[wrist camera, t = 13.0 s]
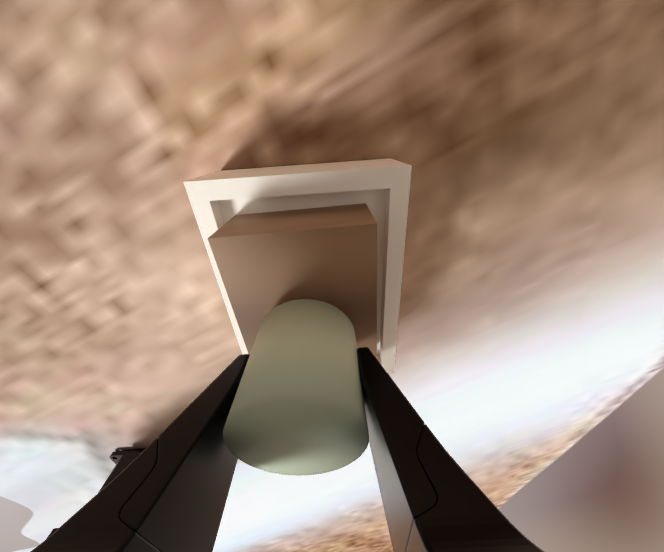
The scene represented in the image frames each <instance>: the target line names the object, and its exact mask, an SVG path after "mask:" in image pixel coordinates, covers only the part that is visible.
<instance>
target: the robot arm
mask: <svg viewBox="0 0 664 552" xmlns="http://www.w3.org/2000/svg"><path fill="white" fill-rule="evenodd" d="M357 353H358V360H359V367H360V375H361V381H362V388H363V395H364V402H365V409H366V416H367V424H368V431H369V443H370V447H371V452H372V456H373V461H374V465H375V470H376V474H377V479H378V483H379V488H380V492H381V497H382V501H383V506H384V510H385V515H386V519H387V524H388V528H389V533H390V537H391V542H392V546H393V551H394V552H544V551H543V550H541V549H540V548H539V547H537V546H536V545H535V544H534V543H532V542H531V541H530V540H529V539H527V538H526V537H525V536H524V535H523V534H522V533H521V532H520V531H518V529H516V528H515V527H514V526H513V525H512V524H511V523H510V522H509V520H508V519H507V518H506V517H505V516H504V515H503V514H502V513H501V512H500V511H499V510H498V508H497V507H496V506H495V505H494V504H493V503H492V502H491V501H490V500H489V498H488V497H487V496H486V495H485V494H484V493H483V492H482V491H481V490H480V488H479V487H478V486H477V485H476V484H475V483H474V482H473V481H472V480H471V479H470V477H469V476H468V475H467V474H466V473H465V472H464V471H463V470H462V469H461V467H460V466H459V465H458V464H457V463H456V462H455V460H454V459H453V458H452V457H451V456H450V455H449V454H448V452H447V451H446V450H445V449H444V447H443V446H442V445H441V444H440V442H439V441H438V440H437V439H436V437H435V436H434V435H433V433H432V432H431V431H430V429H429V428H428V427H427V425H424V421H423V420H422V419H421V417H420V416H419V415H418V413H417V412H416V411H415V409H414V408H413V407H412V405H411V404H410V403H409V401H408V400H407V399H406V397H405V396H404V395H403V393H402V392H401V391H400V389H399V388H398V387H397V385H396V384H395V383H394V381H393V380H392V379H391V377H390V376H389V375H388V373H387V372H386V370H385V369H384V368H383V366H382V365H381V364H380V362H379V361H378V360H377V358H376V357H375V356H374V354H373V353H372V352H371V350H370V349H369V348H368V347H360V348H358V349H357ZM249 356H250V354H241V355H239V356H238V357H237V358H236V359H235V360H234V361H233V362H232V363H231V364H230V365H229V366H228V367H227V368H226V369H225V370H224V371H223V372H222V373H221V374H220V375H219V376H218V377H217V378H216V379H215V380H214V381H213V382H212V383H211V384H210V385H209V386H208V387H207V388H206V389H205V390H204V391H203V392H202V393H201V394H200V395H199V396H198V397H197V398H196V399H195V400H194V401H193V402H192V403H191V404H190V405H189V406H188V407H187V408H186V409H185V410H184V411H183V412H182V413H181V414H180V415H179V416H178V417H177V418H176V419H175V420H174V421H173V422H172V423H171V424H170V425H169V426H168V427H167V428H166V429H165V430H164V431H163V432H162V433H161V434H160V435H159V437H158V438H157V439H155V440H154V441H153V442H152V443H151V444H150V445H149V446H148V447H147V448H146V449H145V450H136V451H115V452H113V453H112V454H111V455H110V459H111V460H112V461H113V462H114V463H115V464H116V466H115V468H114V469H113V471H112V472H111V474H110V475H109V477H108V478H107V480H106V482H105V483H104V485H103V486H102V488H101V489H100V491H99V492H98V494H97V495H96V496H95V497H93V498H92V499H91V500H90V501H89V502H88V503H87V504H86V505H84V506H83V507H82V508H81V509H80V510H79V511H78V512H77V513H75V514H74V515H73V516H72V517H71V518H70V519H69V520H68V521H66V522H65V523H64V524H63V525H62V526H61V527H60V528H55V529H53V530H52V532H51V533H50V535H49V536H48V537H47V539H46V540H45V541H44V542H42V543H41V544H40V545H39V546H37V547H36V548H35V549H33V550H32V551H31V552H212V551H213V547H214V543H215V540H216V536H217V533H218V529H219V525H220V522H221V518H222V514H223V511H224V507H225V503H226V500H227V496H228V492H229V489H230V485H231V481H232V478H233V474H234V470H235V467H236V463H237V459H238V458H237V457H236V456H235V455H233V454H232V453H231V451H230V450H229V449H228V448H227V446H226V444H225V442H224V438H223V429H224V426H225V423H226V420H227V417H228V415H229V412H230V409H231V406H232V403H233V401H234V398H235V395H236V392H237V389H238V387H239V384H240V381H241V378H242V376H243V373H244V370H245V367H246V364H247V362H248V359H249Z"/></svg>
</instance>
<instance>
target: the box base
mask: <svg viewBox="0 0 664 552" xmlns="http://www.w3.org/2000/svg"><path fill="white" fill-rule="evenodd" d="M411 171H412V165H409V164H406V163H403V162H400V161H397V160H394V159H391V158H388V159H374V160H360V161H346V162H333V163H319V164H305V165H291V166H277V167H264V168H250V169H236V170H222V171H217V172H214V173H211V174H207V175H204V176H201V177H198V178H195V179H191V180H188V181H185V182H184V185H185V188H186V191H187V194H188V197H189V200H190V203H191V206H192V209H193V211H194V214H195V217H196V220H197V223H198V226H199V229H200V232H201V235H202V238H203V241H204V244H205V247H206V249H207V252H208V255H209V258H210V261H211V264H212V267H213V270H214V273H215V276H216V279H217V282H218V284H219V287H220V290H221V293H222V296H223V299H224V302H225V305H226V308H227V311H228V314H229V317H230V320H231V322H232V325H233V328H234V331H235V334H236V337H237V340H238V343H239V346H240V349H241V352H242V354H248V351H247V348H246V345H245V343H244V340H243V337H242V334H241V331H240V328H239V326H238V323H237V320H236V317H235V314H234V312H233V309H232V306H231V303H230V300H229V298H228V295H227V292H226V289H225V286H224V283H223V281H222V278H221V275H220V272H219V269H218V267H217V264H216V261H215V258H214V255H213V252H212V250H211V247H210V244H209V241H208V238H209V237H210V236H211V235H212V234H213V233H215V232H216V231H217V230H218V229H219V228H221V227H222V226H223V225H224V224H225V223H227V222H228V221H229V220H230V219H231V218H233V217H234V216H235V215H242V214H253V213H264V212H275V211H286V210H297V209H308V208H319V207H330V206H341V205H352V204H363V203H366V204H367V206H368V208H369V210H370V211H371V213H372V215H373V217H374V219H375V220H376V222H377V360H378V361H379V362H380V364H381V365H382V366H383V368H384V369H385V370H386V372H387V373H388V374H392V373H394V366H395V354H396V343H397V331H398V320H399V308H400V297H401V285H402V274H403V262H404V251H405V240H406V228H407V217H408V205H409V194H410V182H411Z"/></svg>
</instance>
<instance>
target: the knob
mask: <svg viewBox="0 0 664 552" xmlns="http://www.w3.org/2000/svg"><path fill="white" fill-rule="evenodd" d="M223 438H224V442H225V444H226V446H227V448H228V449H229V450H230V451H231V453H232V454H233V455H235V456H236V457H237V458H238V459H240V460H241V461H243V462H245V463H246V464H248V465H250V466H253V467H255V468H258V469H261V470H264V471H268V472H272V473H278V474H285V475H314V474H321V473H326V472H330V471H333V470H337V469H339V468H342V467H344V466H346V465H348V464H350V463H352V462H353V461H355V460H356V459H357V458H358V457H360V456H361V455H362V453H363V452H364V451H365V449H366V448H367V445H368V443H369V431H368V424H367V416H366V409H365V402H364V395H363V388H362V381H361V375H360V367H359V360H358V353H357V344H356V337H355V330H354V327H353V325H352V323H351V321H350V319H349V318H348V317H347V316H346V315H345V313H343V312H342V311H341V310H340V309H338V308H337V307H335V306H333V305H331V304H329V303H326V302H323V301H318V300H312V299H299V300H293V301H288V302H285V303H283V304H281V305H279V306H277V307H275V308H274V309H272V310H271V311H270V312H269V313H268V314H267V315H266V316H265V317H264V319H263V321H262V323H261V325H260V328H259V331H258V334H257V337H256V339H255V342H254V345H253V348H252V351H251V353H250V356H249V359H248V362H247V364H246V367H245V370H244V373H243V376H242V378H241V381H240V384H239V387H238V389H237V392H236V395H235V398H234V401H233V403H232V406H231V409H230V412H229V415H228V417H227V420H226V423H225V426H224V429H223Z"/></svg>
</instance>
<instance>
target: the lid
mask: <svg viewBox="0 0 664 552" xmlns="http://www.w3.org/2000/svg"><path fill="white" fill-rule="evenodd" d="M208 241H209V244H210V247H211V250H212V252H213V255H214V258H215V261H216V264H217V267H218V269H219V272H220V275H221V278H222V281H223V283H224V286H225V289H226V292H227V295H228V298H229V300H230V303H231V306H232V309H233V312H234V314H235V317H236V320H237V323H238V326H239V328H240V331H241V334H242V337H243V340H244V343H245V345H246V348H247V351H248V354H250V353H251V351H252V348H253V345H254V342H255V339H256V337H257V334H258V331H259V328H260V325H261V323H262V321H263V319H264V317H265V316H266V315H267V314H268V313H269V312H270V311H271V310H272V309H274V308H275V307H277V306H279V305H281V304H283V303H285V302H288V301H293V300H299V299H312V300H318V301H323V302H326V303H329V304H331V305H333V306H335V307H337V308H338V309H340V310H341V311H342V312H343V313H345V315H346V316H347V317H348V318H349V319H350V321H351V323H352V325H353V327H354V330H355V337H356V344H357V349H358V348H360V347H368V348H369V349H370V350H371V352H372V353H373V354H374V356H375V357H376V358H377V222H376V220H375V219H374V217H373V215H372V213H371V211H370V210H369V208H368V206H367V204H366V203H363V204H352V205H341V206H330V207H319V208H308V209H297V210H286V211H275V212H264V213H253V214H242V215H235V216H234V217H233V218H231V219H230V220H229V221H228V222H227V223H225V224H224V225H223V226H222V227H221V228H219V229H218V230H217V231H216V232H215V233H213V234H212V235H211V236H210V237H209V238H208Z"/></svg>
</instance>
